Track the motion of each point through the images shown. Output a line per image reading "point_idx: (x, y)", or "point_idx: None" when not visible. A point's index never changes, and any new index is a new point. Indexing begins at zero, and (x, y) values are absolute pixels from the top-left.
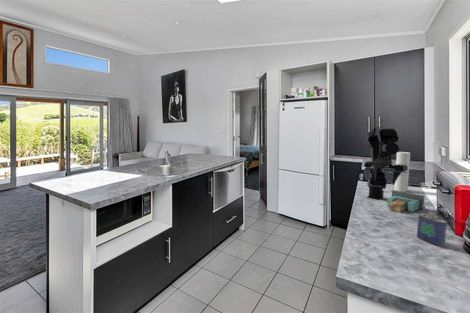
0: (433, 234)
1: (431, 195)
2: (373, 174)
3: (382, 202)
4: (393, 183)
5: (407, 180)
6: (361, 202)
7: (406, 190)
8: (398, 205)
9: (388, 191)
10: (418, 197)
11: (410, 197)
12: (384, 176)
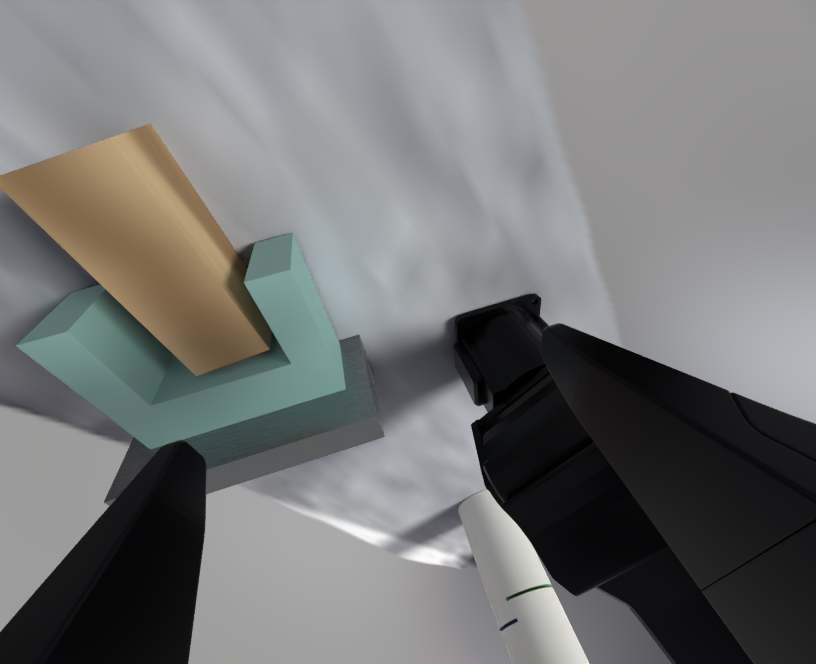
0: None
1: (374, 544)
2: (703, 421)
3: (399, 292)
4: (156, 452)
5: (480, 572)
6: (498, 98)
7: (460, 515)
8: (15, 171)
9: None
10: None
11: (217, 438)
12: (531, 535)
